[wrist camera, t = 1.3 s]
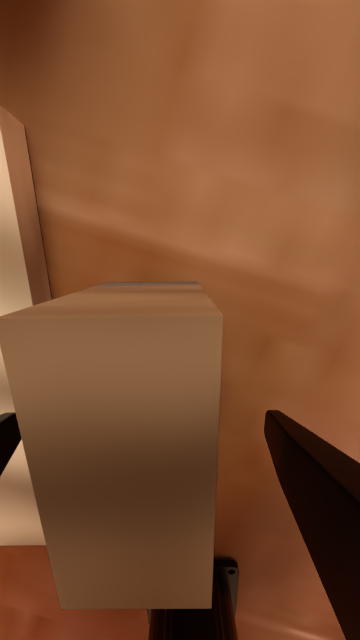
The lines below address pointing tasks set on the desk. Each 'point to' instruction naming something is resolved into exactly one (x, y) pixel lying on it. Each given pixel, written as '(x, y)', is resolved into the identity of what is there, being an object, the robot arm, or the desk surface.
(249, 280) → the desk surface
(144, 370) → the block
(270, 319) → the desk surface
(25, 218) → the birch board
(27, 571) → the desk surface
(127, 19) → the desk surface
